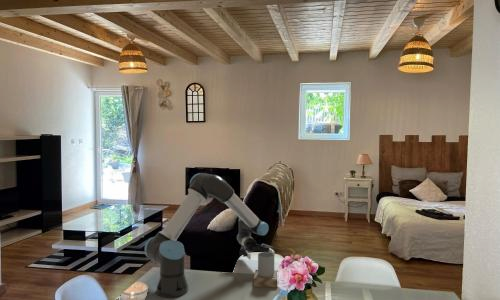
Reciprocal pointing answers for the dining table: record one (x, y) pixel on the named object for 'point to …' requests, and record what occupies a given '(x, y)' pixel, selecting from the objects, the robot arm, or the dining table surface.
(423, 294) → the dining table surface
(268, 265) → the cup
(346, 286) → the dining table surface
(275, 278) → the plinth
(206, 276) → the dining table surface
